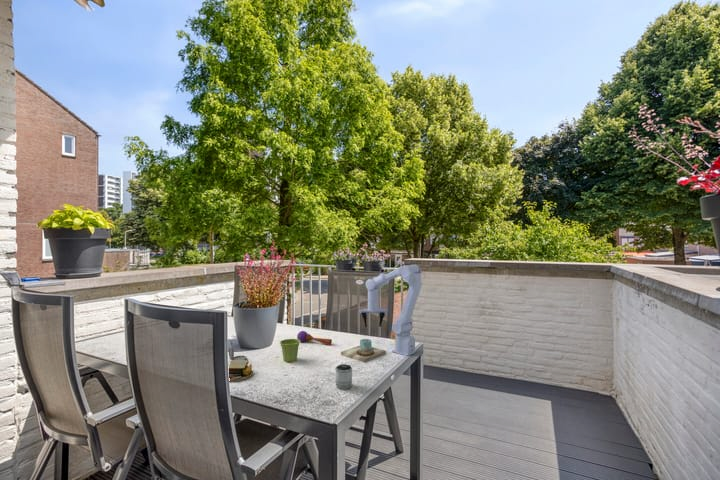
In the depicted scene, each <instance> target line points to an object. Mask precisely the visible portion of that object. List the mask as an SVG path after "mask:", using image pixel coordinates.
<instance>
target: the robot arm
mask: <svg viewBox="0 0 720 480" xmlns="http://www.w3.org/2000/svg"><path fill="white" fill-rule="evenodd" d="M422 273H423V272H422V270H421V267H420V266H419V265H418V264H411V265H410V264H407V265H405V264H404V265H402V266H399V267H397V268H395V269H393V270H392V271H390V272H388V273H385V272H380V273H379V275H377V276H373V277H372V278H368V279H367V280H366V281H365V287H366V289H367V308H361V309H360V308H359V314H361V316H362V318H363V321H364V328H367V327H368V324H367V323H368V322H367V317H368V316H367V314H379V317H378V318H379V324H378V326H379V327H380V328H381V327H382V324H383V323H382V322H383V320H384V318H385V314H387V313H388V312H387V308H379V292H380V288H381V287H383V286H385V285H387V284H389V283H390V280H393V279H395V278H397V277H401V278H403V280H404V281H405V282H406V283H407V284H408V289H407V292H406V296H405V299H404V302H403V305H402V307H401V312H400V315H399V316H397V318H395V319H396V320H395V322H393V324H392V326H391V327H392V332H393V333H394V337H395V340H394V341H395V342H394V343H395V344H394V347H395V348H394V349H393V350H391V352H392V353H395V354H398V355H403V356H406V357H408V356H410V355H413V354H415V353H416V352H417V351H416V338H415V337H414V336H413V335H411V331H412V330H413V327H414V326H413V322H414V318H413V317H412V315H413V313H414V309H415V306H416V303H417V301H418V297H419V294H420V292H421V288H422V285H423V284H422Z"/></svg>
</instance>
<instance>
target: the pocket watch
mask: <svg viewBox="0 0 720 480" xmlns="http://www.w3.org/2000/svg"><path fill="white" fill-rule="evenodd" d="M234 350H235V349H234V346H233V341H232V340H231V339H230V345H229V346H228V356H229V357H228V358H229V360H230V361H232V360H247V358H248V357H247V356H246V355H236V356H235V351H234Z"/></svg>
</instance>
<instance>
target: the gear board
mask: <svg viewBox="0 0 720 480" xmlns="http://www.w3.org/2000/svg"><path fill="white" fill-rule="evenodd" d="M364 342H367V340H364ZM386 353H387V352H386V350H384V349H381V348H376V347H374V346H372V348H371V349H367V346H364V349H360V345H357V346H354V347H352V348H349V349H345V350H342V351H341V352H340V355H341V356H343V357H347V358H350V359H353V360H356V361H359V362H361V363H362V362H363V363H366V362H369V361H371V360H374V359H375V358H379V357H381V356H383V355H386Z"/></svg>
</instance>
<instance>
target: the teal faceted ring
mask: <svg viewBox="0 0 720 480" xmlns="http://www.w3.org/2000/svg"><path fill="white" fill-rule="evenodd" d="M364 340H367V342H364ZM372 344H373V343H372V339H369V338H363V339H359V346H360V349H364V346H367V349H371V348H372V347H373V346H372Z"/></svg>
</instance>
